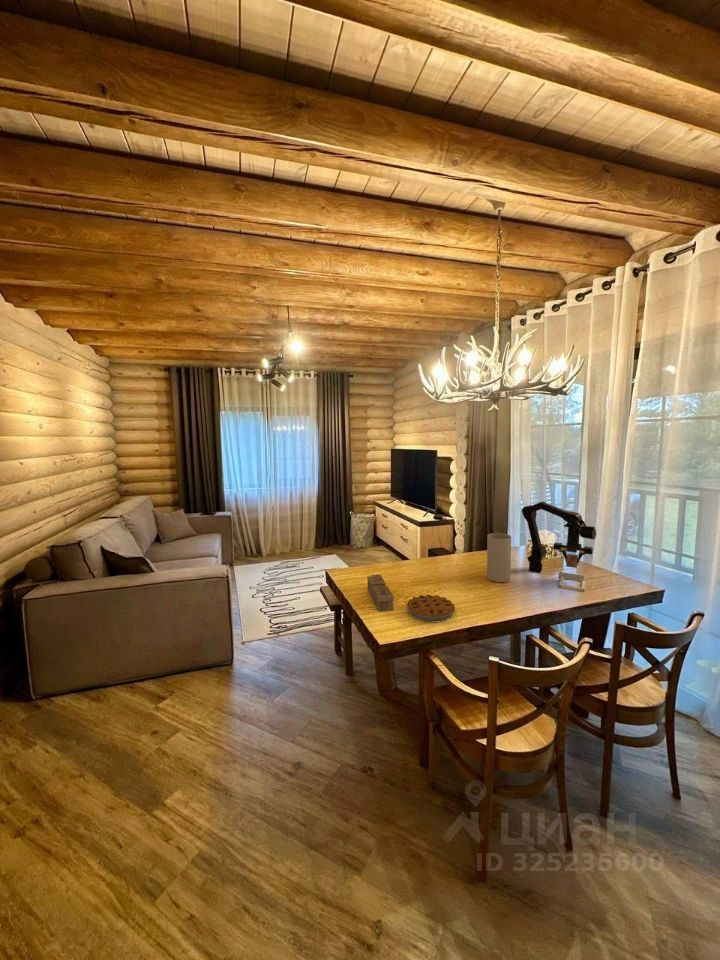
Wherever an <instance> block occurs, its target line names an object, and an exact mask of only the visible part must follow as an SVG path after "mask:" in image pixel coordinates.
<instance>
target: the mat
mask: <svg viewBox="0 0 720 960" xmlns="http://www.w3.org/2000/svg"><path fill="white" fill-rule="evenodd" d="M561 577H564V580H566V581H567V580H568V581H574V582H580V583H582V581H585V579H584V578H585V576H584V575H582V574H574V573H568V572H562V571H560V572H559V575H558V579H561Z"/></svg>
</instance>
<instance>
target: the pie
mask: <svg viewBox="0 0 720 960" xmlns="http://www.w3.org/2000/svg"><path fill="white" fill-rule="evenodd" d="M406 607H407V609H408V611H410V613H411V615H412V616H413V617H414V616H415V617H414V618H415V619H417V618H418V619H417V620H419V619H420V621H421V620H423V621H422V622H427V621H430V622H429V623H432V622H431V621H440V622H442V620H444V621H447V620H449V619H450V617H451V618H452V616H453V614H454V613H455V611H456V607H455V604H454V603H453V602H452V600H450V599H448V598H446V597H443V596H440V595H438V594H436V595H432V594H426V595H423V594H421V595H418V596H413V597H412V599H411V598H410V599H409V600H408V601H407V604H406ZM448 618H449V619H448ZM446 619H447V620H446Z"/></svg>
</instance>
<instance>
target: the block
mask: <svg viewBox="0 0 720 960" xmlns="http://www.w3.org/2000/svg"><path fill="white" fill-rule="evenodd" d="M578 555H579V554H576V553H567V560H566V561H565V563H566V564H565V566H566V567H567V568H573V569H577V568H578V564H577V560H578Z"/></svg>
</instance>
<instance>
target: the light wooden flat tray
mask: <svg viewBox="0 0 720 960" xmlns="http://www.w3.org/2000/svg"><path fill="white" fill-rule="evenodd" d="M564 580H565V579H564V577H561V578H560V581H559V584H558V585H559V586H558V587H559V588H563V589H567V590H573V591H579V592H585V588H586V587H585V586H586V580H584V581H582V582H581V587H580V586H575V585H574V586H573V585H568V584H563V583H564Z"/></svg>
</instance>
